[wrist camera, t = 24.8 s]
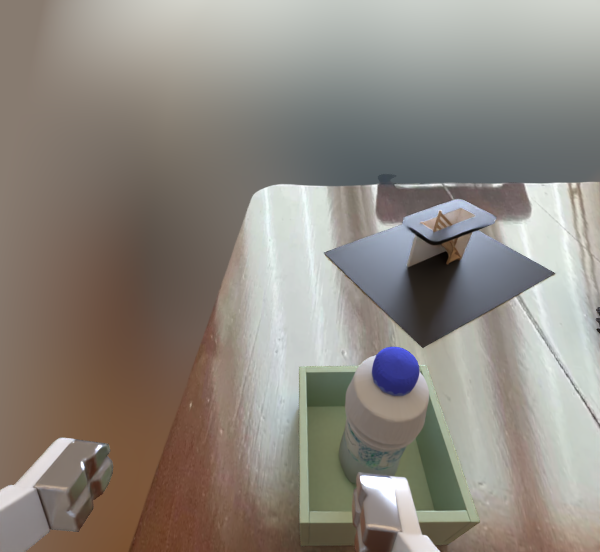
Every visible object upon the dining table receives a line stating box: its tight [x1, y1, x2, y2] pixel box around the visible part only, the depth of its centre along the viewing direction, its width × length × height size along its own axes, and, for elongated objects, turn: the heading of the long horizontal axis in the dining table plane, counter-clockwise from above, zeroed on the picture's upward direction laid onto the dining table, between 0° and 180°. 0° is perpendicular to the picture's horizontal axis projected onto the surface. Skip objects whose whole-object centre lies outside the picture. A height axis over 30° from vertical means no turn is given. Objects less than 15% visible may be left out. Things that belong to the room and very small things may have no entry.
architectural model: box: [324, 199, 555, 348], centre depth 61 cm, size 35×28×14 cm
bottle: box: [339, 347, 429, 484], centre depth 30 cm, size 7×7×20 cm
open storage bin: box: [299, 365, 480, 546], centre depth 34 cm, size 15×15×9 cm
